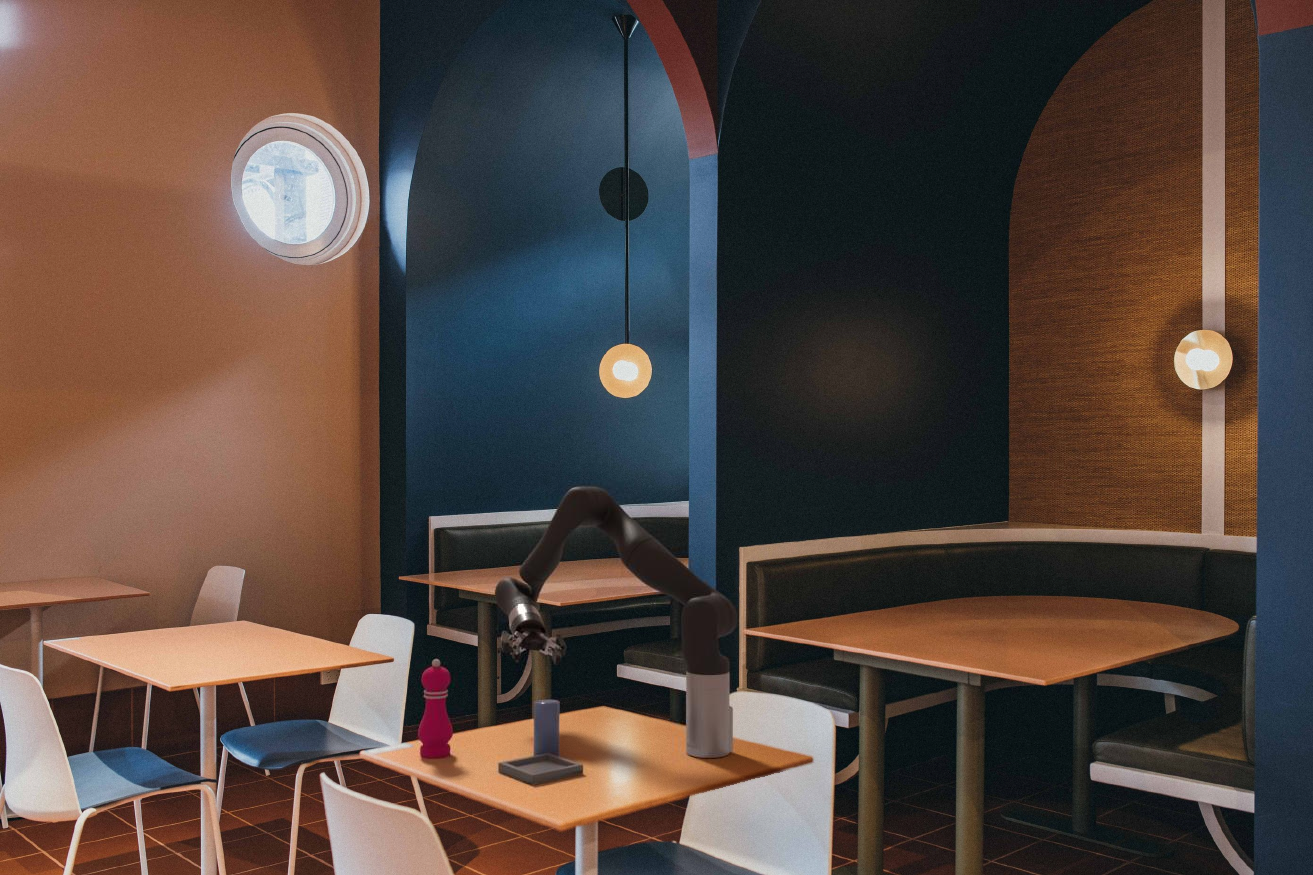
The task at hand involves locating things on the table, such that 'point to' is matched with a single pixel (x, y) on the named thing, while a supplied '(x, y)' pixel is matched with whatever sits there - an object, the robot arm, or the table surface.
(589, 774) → the table surface
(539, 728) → the blue-grey cylinder
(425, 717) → the pepper mill
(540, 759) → the tray
